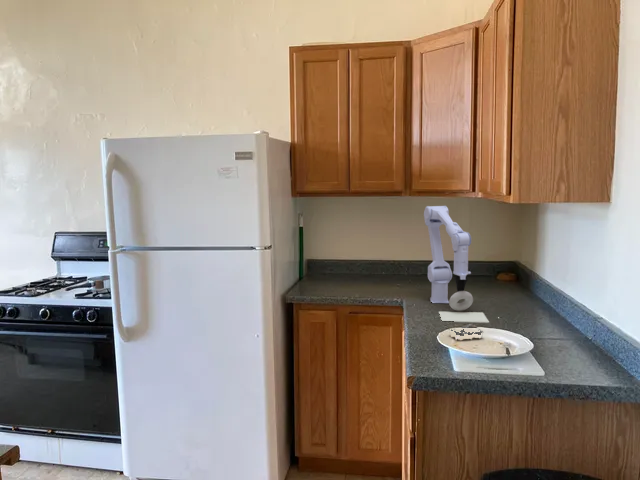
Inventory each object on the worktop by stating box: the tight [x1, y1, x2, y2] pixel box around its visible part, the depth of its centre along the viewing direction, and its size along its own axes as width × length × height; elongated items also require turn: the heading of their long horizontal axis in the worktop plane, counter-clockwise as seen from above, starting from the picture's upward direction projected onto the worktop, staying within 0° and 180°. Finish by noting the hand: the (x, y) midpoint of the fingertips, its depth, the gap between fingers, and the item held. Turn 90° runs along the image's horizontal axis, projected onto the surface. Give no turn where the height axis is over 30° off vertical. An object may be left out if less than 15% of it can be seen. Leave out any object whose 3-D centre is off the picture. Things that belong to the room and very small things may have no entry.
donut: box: [448, 290, 474, 312], centre depth 205 cm, size 10×4×10 cm, turn 93°
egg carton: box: [448, 323, 484, 336], centre depth 173 cm, size 11×8×4 cm
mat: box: [438, 311, 490, 324], centre depth 198 cm, size 14×18×1 cm
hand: (460, 293), depth 206 cm, fingers closed
